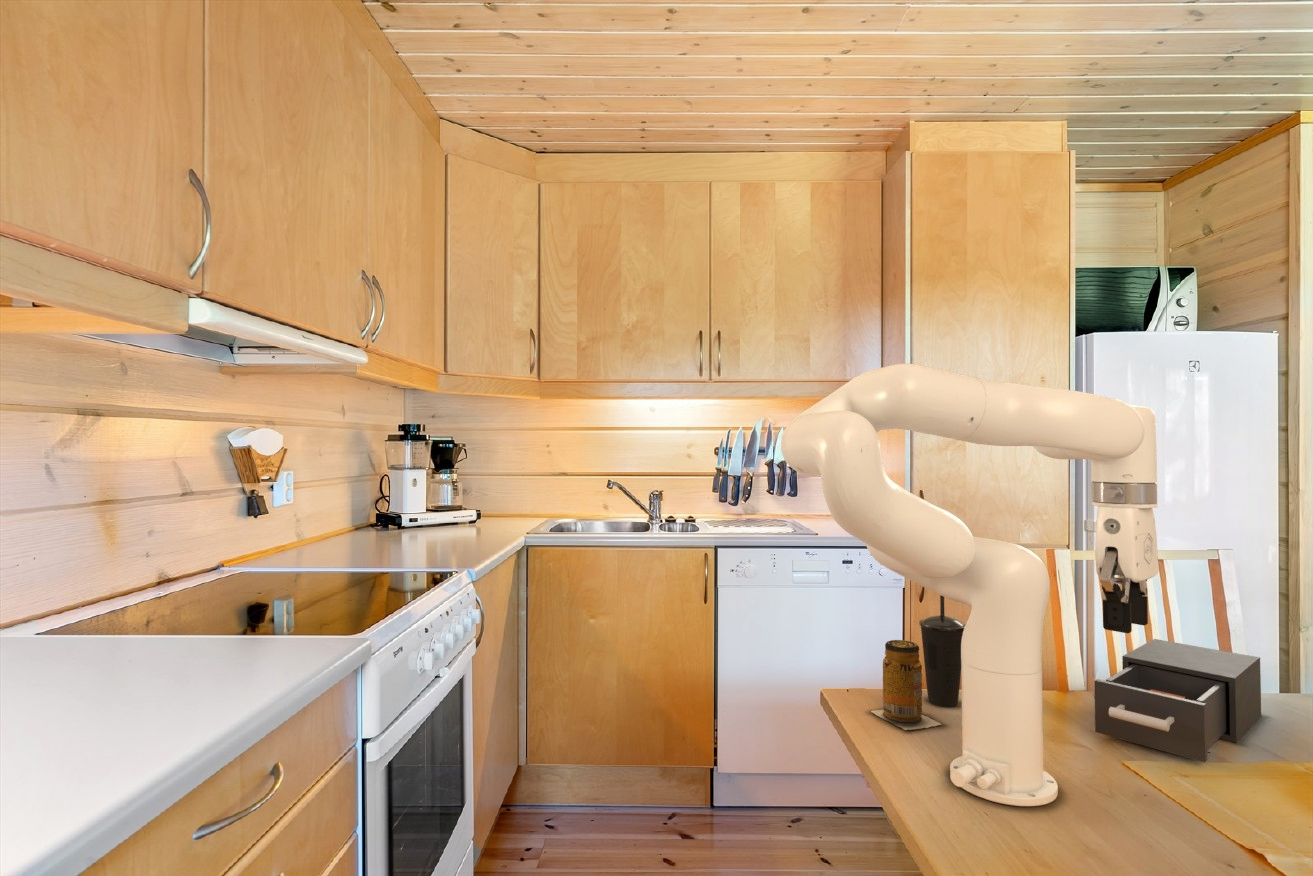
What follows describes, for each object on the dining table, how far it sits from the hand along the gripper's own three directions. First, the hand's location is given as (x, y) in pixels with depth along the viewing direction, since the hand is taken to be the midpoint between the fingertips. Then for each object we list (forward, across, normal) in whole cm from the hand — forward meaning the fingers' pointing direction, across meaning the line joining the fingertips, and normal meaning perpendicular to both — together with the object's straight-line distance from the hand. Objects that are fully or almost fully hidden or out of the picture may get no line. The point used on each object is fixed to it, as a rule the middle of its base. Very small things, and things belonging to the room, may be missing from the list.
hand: (1125, 625), depth 94 cm
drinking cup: (+20, +4, +29) cm, 35 cm away
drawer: (+19, +14, 0) cm, 23 cm away
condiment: (+20, -8, +29) cm, 36 cm away
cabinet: (+20, +30, 0) cm, 36 cm away
